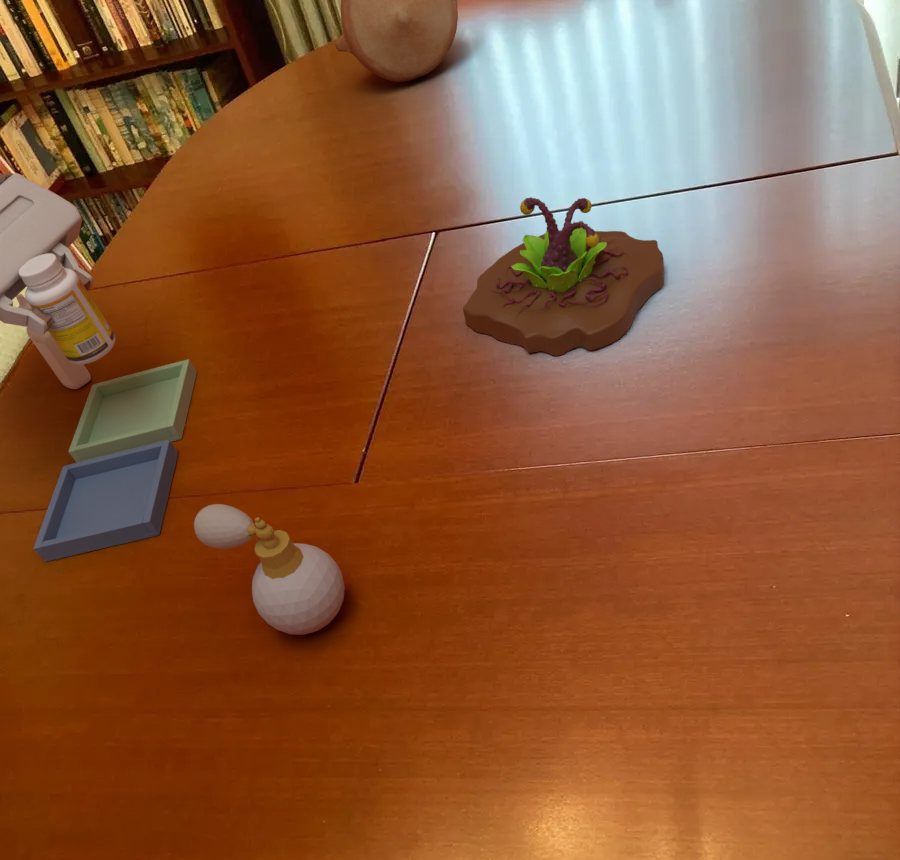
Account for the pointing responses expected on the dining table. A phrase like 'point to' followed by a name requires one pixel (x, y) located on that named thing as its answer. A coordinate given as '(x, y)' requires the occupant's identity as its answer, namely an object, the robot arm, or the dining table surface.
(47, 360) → the eye dropper bottle
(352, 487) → the dining table surface
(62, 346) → the supplement bottle
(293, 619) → the perfume bottle
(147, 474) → the blue tray
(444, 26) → the jug
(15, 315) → the robot arm
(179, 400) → the green tray
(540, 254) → the plant
